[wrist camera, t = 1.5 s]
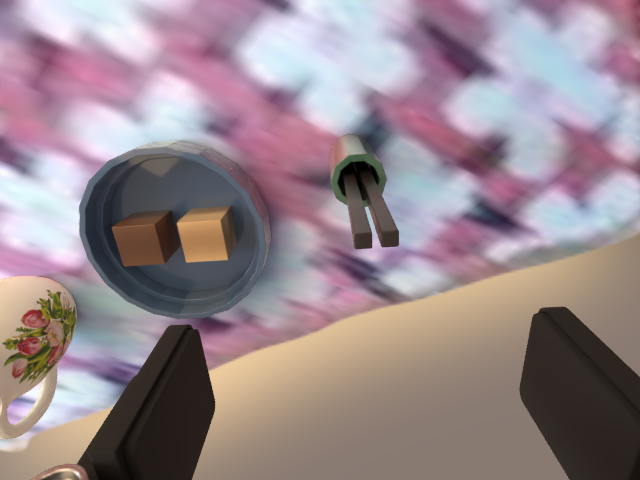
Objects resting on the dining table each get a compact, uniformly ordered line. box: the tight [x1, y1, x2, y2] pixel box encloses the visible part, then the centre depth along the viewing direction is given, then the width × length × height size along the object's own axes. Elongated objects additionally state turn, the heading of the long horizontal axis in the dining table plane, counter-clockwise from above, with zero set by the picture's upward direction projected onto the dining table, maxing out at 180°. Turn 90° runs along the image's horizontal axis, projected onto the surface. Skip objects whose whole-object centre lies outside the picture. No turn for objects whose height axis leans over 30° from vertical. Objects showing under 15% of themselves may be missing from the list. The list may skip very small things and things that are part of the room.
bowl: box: [79, 141, 271, 319], centre depth 37 cm, size 17×17×4 cm
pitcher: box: [0, 276, 77, 439], centre depth 37 cm, size 11×18×14 cm, turn 6°
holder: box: [330, 134, 387, 207], centre depth 31 cm, size 4×4×10 cm
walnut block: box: [112, 210, 180, 266], centre depth 37 cm, size 4×4×4 cm
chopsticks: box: [342, 161, 399, 249], centre depth 26 cm, size 1×2×20 cm, turn 94°
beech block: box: [177, 206, 237, 263], centre depth 36 cm, size 4×4×4 cm
